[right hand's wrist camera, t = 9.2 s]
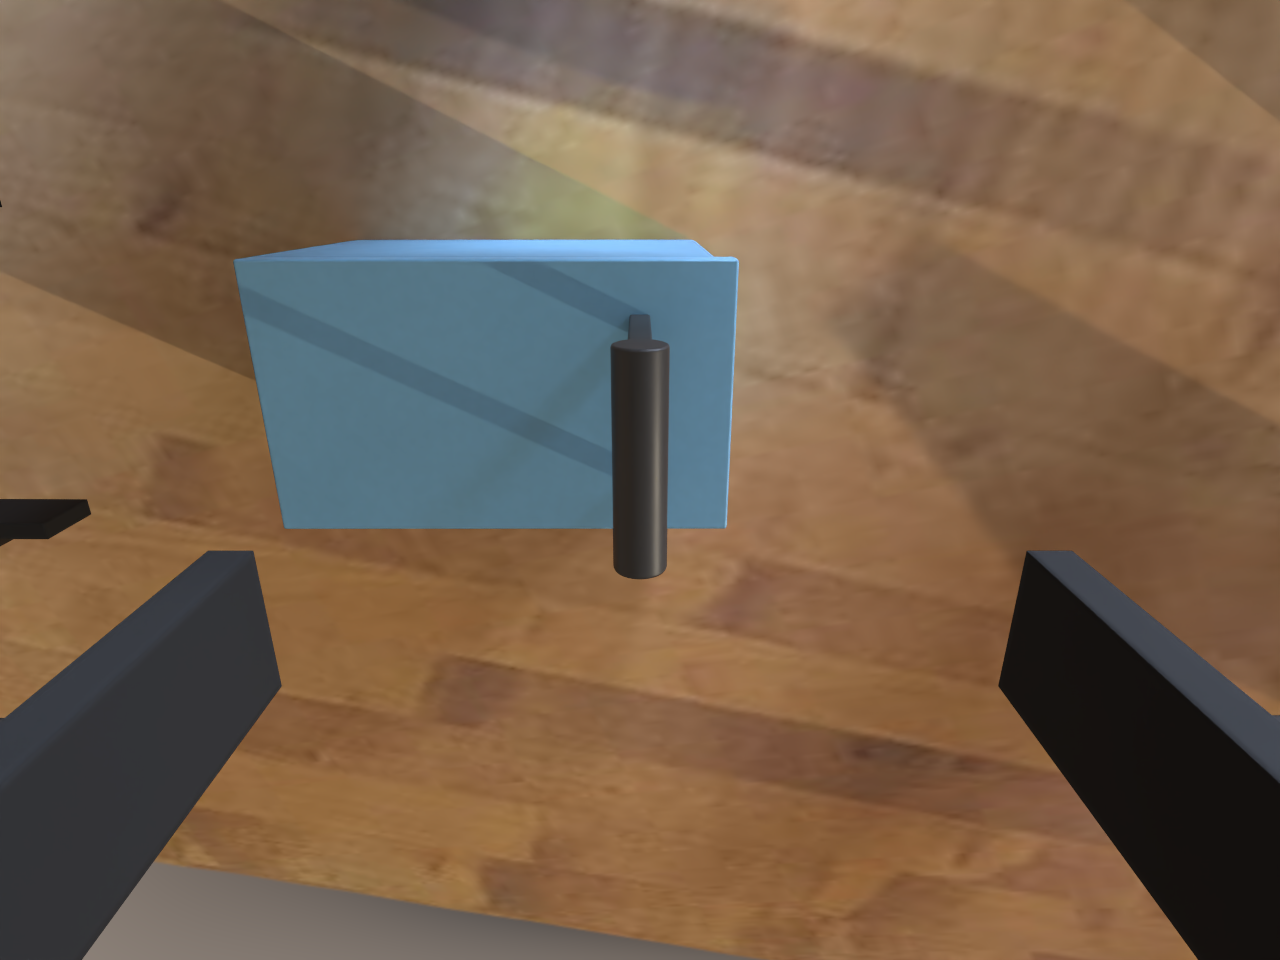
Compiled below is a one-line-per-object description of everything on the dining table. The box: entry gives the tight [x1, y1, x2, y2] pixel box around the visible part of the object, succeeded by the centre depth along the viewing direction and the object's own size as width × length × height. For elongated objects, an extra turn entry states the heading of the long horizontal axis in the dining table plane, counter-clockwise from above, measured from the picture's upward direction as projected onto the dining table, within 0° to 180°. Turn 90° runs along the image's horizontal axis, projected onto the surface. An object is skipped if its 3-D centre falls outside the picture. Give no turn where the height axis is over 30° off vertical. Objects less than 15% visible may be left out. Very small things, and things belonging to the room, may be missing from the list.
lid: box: [233, 257, 739, 579], centre depth 23 cm, size 17×10×8 cm, turn 90°
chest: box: [252, 240, 714, 257], centre depth 32 cm, size 16×10×10 cm, turn 90°
